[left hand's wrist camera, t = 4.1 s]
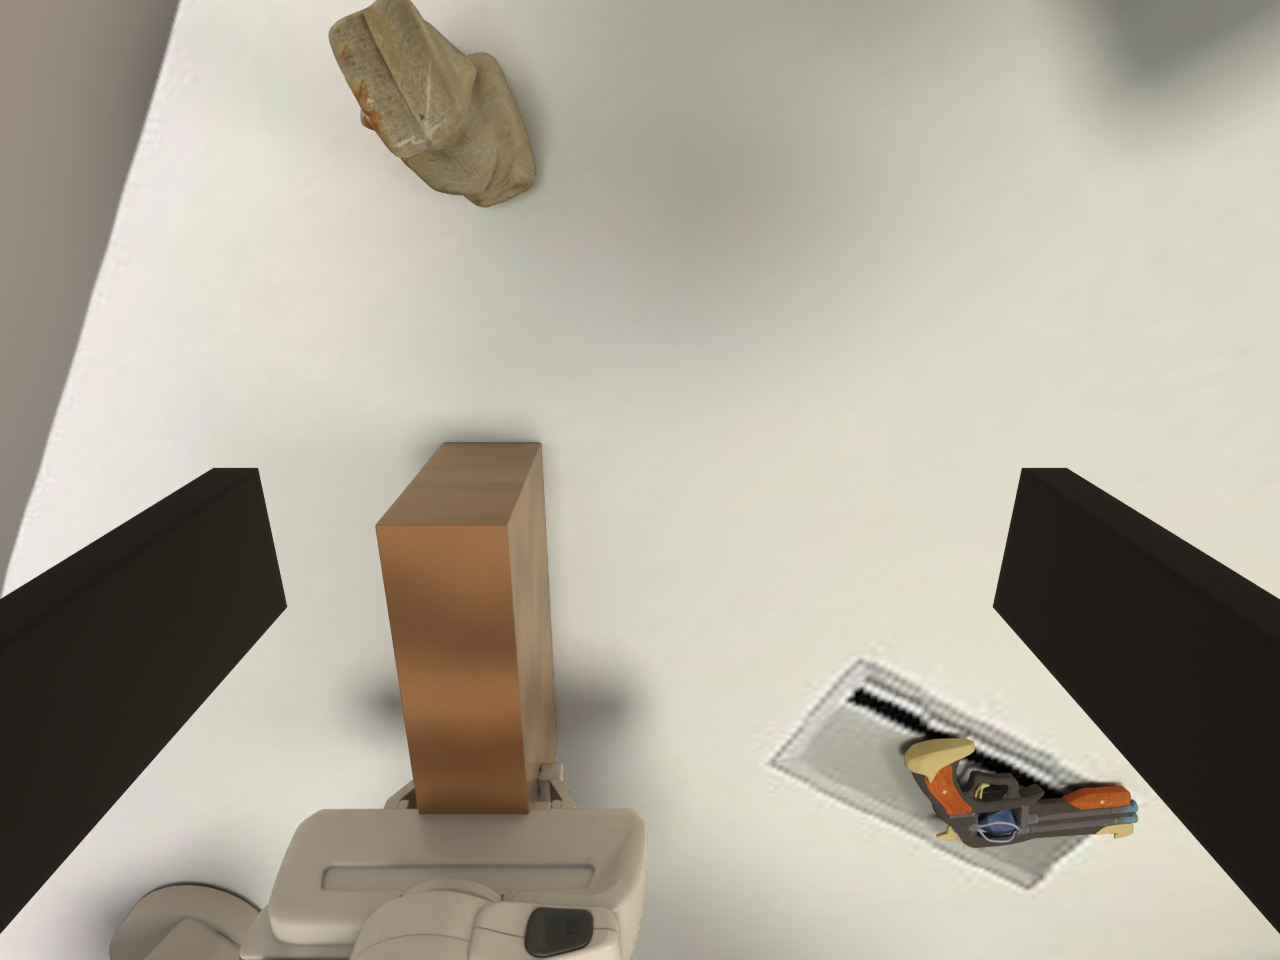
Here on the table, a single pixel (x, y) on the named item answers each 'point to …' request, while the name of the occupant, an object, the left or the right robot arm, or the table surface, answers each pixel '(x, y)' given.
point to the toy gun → (1010, 802)
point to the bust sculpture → (184, 926)
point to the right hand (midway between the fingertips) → (494, 770)
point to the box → (473, 627)
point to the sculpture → (434, 103)
